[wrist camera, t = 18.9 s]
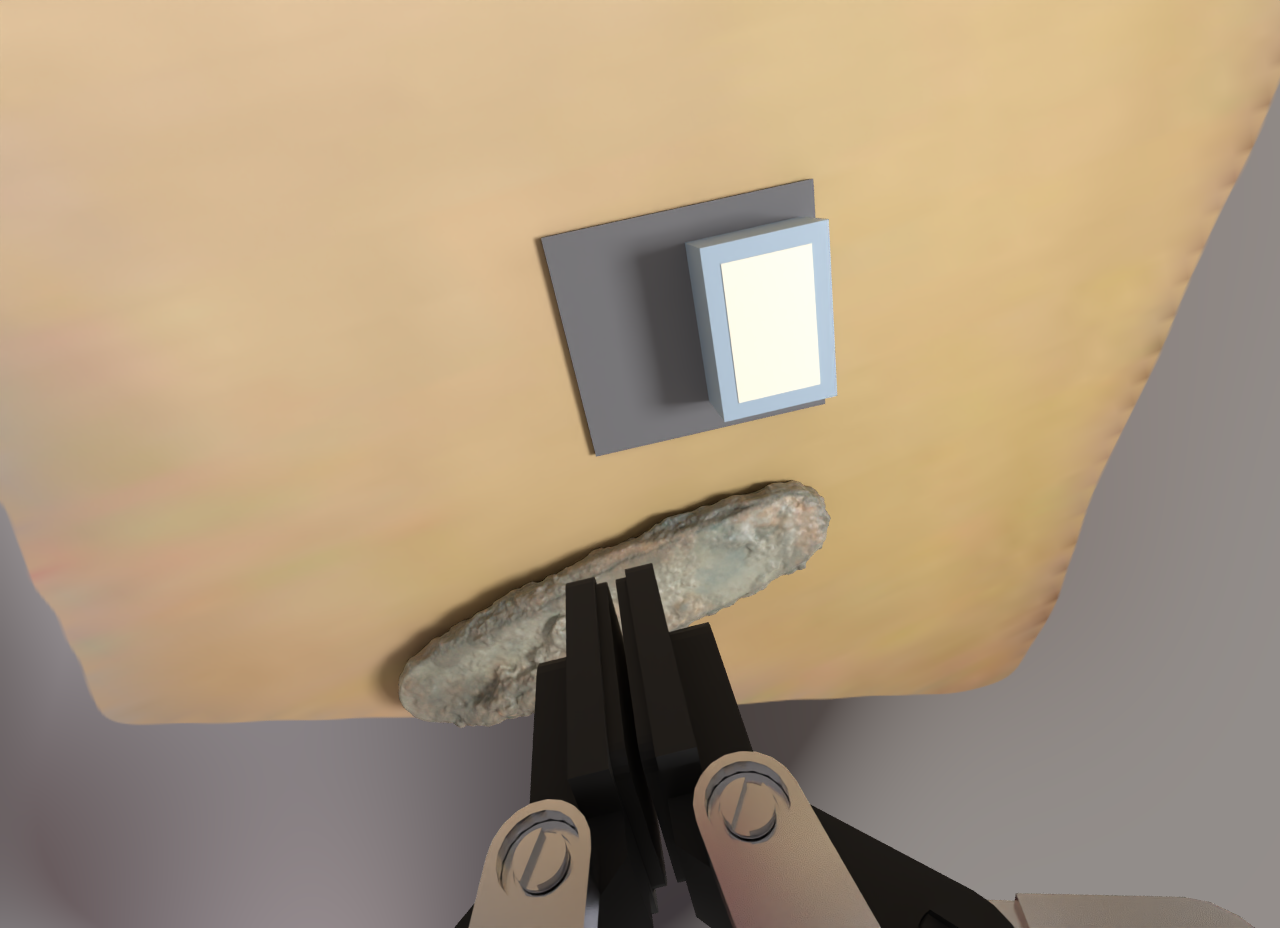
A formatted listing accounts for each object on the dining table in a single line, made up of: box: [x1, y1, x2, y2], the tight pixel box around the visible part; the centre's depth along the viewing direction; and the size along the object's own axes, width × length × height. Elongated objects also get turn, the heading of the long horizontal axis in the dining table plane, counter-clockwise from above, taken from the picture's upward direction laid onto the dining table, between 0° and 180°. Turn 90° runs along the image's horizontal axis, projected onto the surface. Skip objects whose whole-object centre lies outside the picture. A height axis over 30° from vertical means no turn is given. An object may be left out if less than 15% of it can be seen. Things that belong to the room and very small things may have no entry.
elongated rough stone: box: [398, 480, 831, 728], centre depth 43 cm, size 35×5×10 cm
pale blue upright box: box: [685, 217, 837, 422], centre depth 34 cm, size 10×4×7 cm
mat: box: [541, 179, 825, 456], centre depth 36 cm, size 14×16×1 cm
